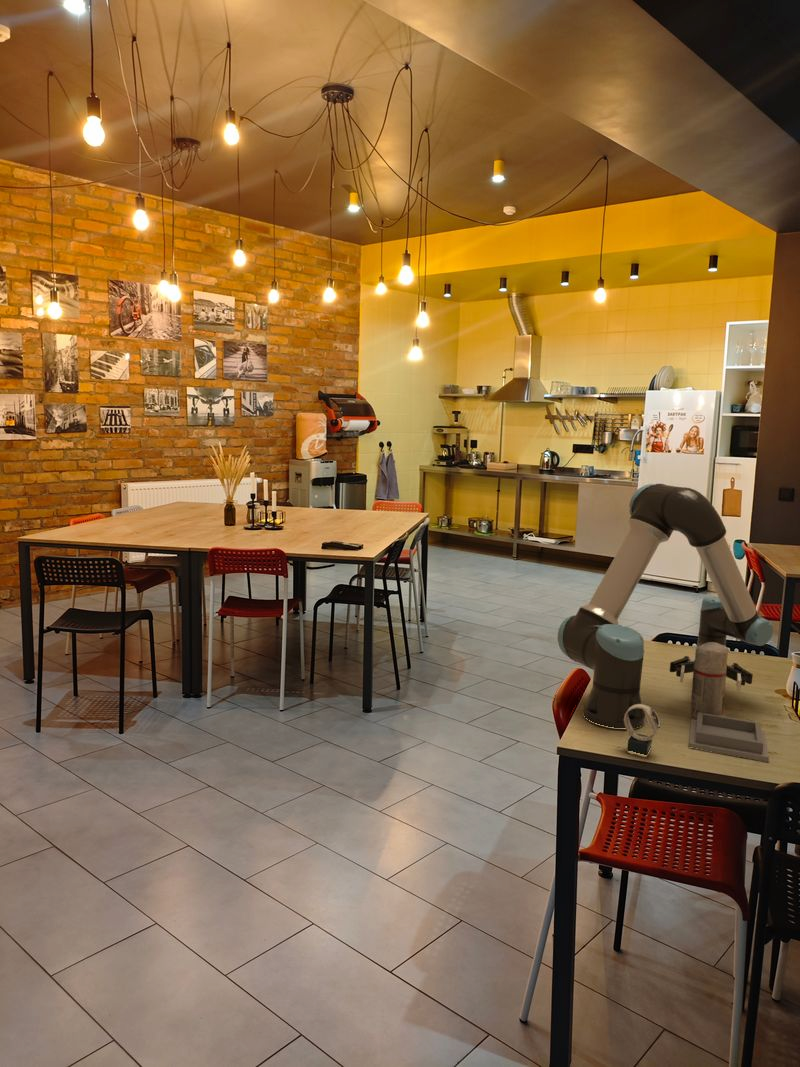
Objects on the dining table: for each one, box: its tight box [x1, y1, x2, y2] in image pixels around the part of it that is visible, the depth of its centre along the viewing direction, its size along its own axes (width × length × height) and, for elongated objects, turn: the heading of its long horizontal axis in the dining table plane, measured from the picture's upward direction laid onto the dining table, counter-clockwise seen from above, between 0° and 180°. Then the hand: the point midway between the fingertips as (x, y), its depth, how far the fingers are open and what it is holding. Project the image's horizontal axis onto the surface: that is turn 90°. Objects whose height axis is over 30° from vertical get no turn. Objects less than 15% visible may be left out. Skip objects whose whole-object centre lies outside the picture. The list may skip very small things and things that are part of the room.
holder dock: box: [688, 712, 770, 763], centre depth 188 cm, size 17×17×4 cm
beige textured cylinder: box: [689, 642, 730, 720], centre depth 202 cm, size 8×8×20 cm
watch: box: [624, 703, 661, 755], centre depth 180 cm, size 6×8×11 cm
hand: (710, 681), depth 199 cm, fingers open, 13 cm apart
